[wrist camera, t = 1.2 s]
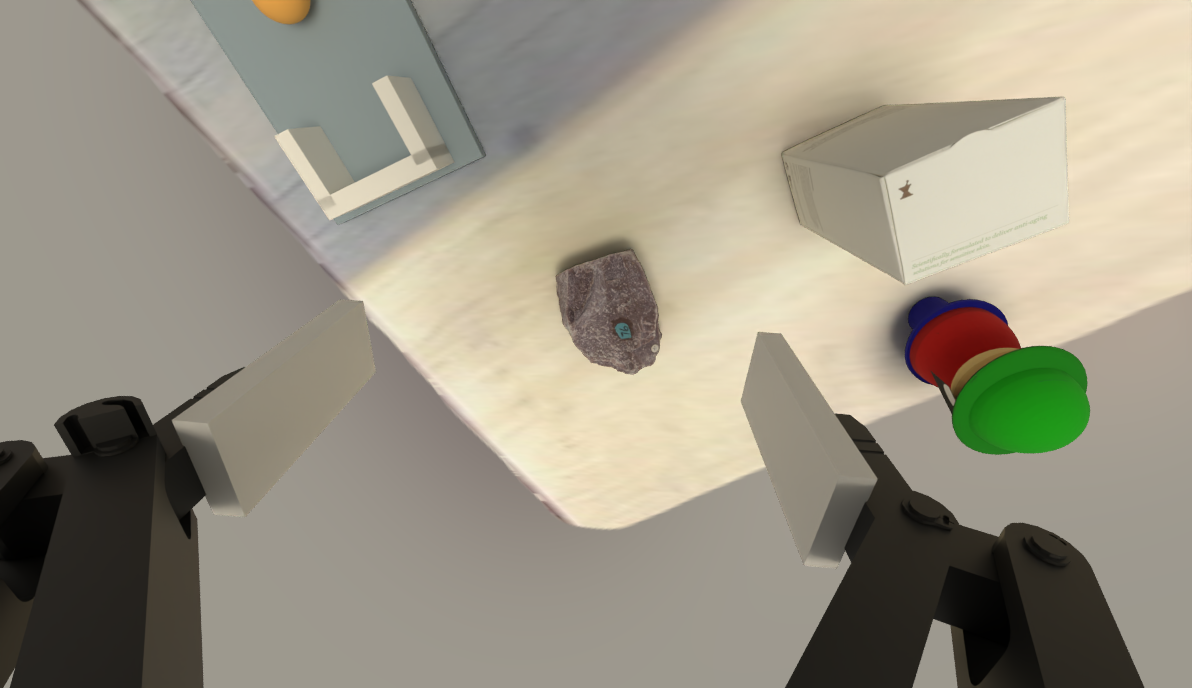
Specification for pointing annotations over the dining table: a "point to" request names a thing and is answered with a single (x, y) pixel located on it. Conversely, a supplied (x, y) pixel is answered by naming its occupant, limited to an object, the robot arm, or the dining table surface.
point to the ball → (284, 10)
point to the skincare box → (934, 181)
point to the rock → (611, 312)
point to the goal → (345, 195)
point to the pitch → (343, 78)
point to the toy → (996, 378)
